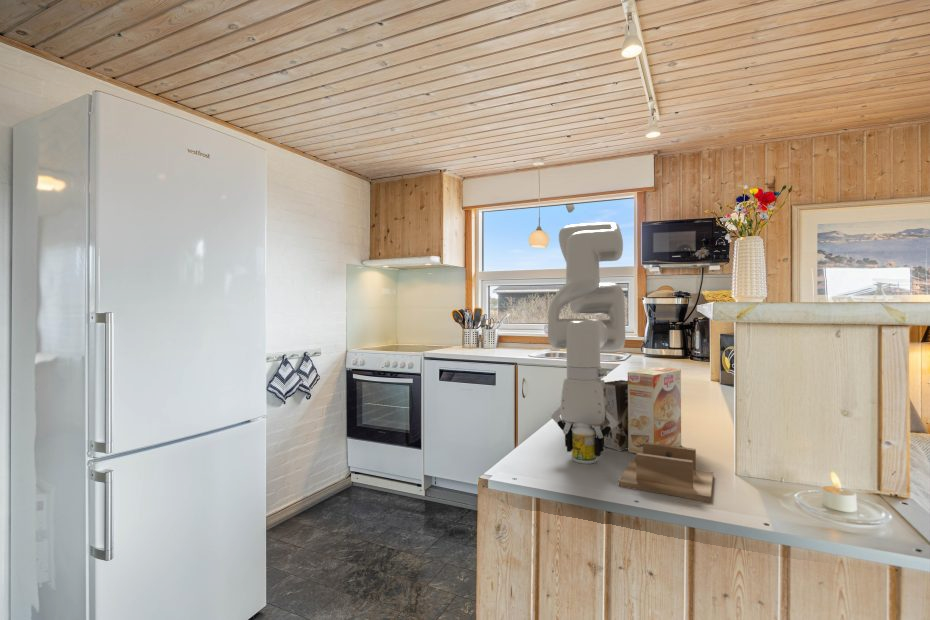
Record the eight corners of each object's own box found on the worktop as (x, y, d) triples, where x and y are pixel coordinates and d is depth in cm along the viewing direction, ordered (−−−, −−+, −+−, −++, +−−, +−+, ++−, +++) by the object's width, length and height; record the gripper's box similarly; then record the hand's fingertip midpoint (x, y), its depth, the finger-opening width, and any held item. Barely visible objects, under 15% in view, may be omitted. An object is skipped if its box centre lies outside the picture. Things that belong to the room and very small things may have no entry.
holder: (631, 464, 102) (631, 437, 102) (713, 477, 94) (712, 447, 94) (618, 486, 90) (617, 455, 90) (710, 502, 82) (710, 468, 82)
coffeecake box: (655, 458, 106) (654, 374, 106) (626, 451, 111) (625, 371, 111) (683, 445, 116) (682, 368, 116) (655, 439, 121) (654, 366, 121)
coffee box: (620, 451, 111) (619, 385, 111) (599, 445, 117) (598, 382, 117) (643, 445, 116) (642, 381, 116) (622, 439, 122) (621, 378, 122)
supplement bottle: (601, 463, 103) (600, 420, 103) (579, 465, 102) (579, 422, 102) (588, 455, 109) (588, 415, 109) (568, 457, 107) (567, 417, 107)
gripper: (625, 374, 104) (626, 453, 104) (552, 369, 113) (553, 443, 113) (618, 378, 98) (619, 462, 98) (542, 373, 106) (543, 451, 106)
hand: (584, 451), depth 105 cm, fingers open, 5 cm apart
